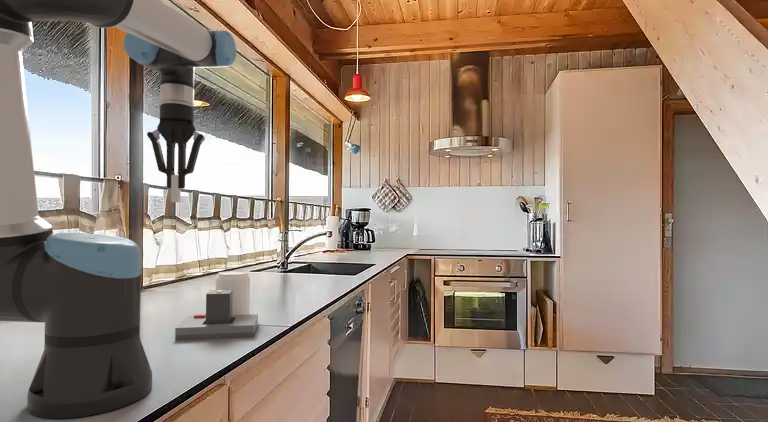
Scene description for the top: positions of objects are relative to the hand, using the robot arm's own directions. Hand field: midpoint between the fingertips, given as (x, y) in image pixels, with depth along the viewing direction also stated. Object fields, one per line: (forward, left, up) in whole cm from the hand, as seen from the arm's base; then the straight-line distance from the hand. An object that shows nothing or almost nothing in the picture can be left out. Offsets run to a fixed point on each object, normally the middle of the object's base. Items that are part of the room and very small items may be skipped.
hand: (175, 202), depth 110 cm
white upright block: (+1, -13, -30) cm, 33 cm away
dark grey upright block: (-10, -12, -28) cm, 32 cm away
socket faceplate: (-10, -12, -29) cm, 33 cm away
